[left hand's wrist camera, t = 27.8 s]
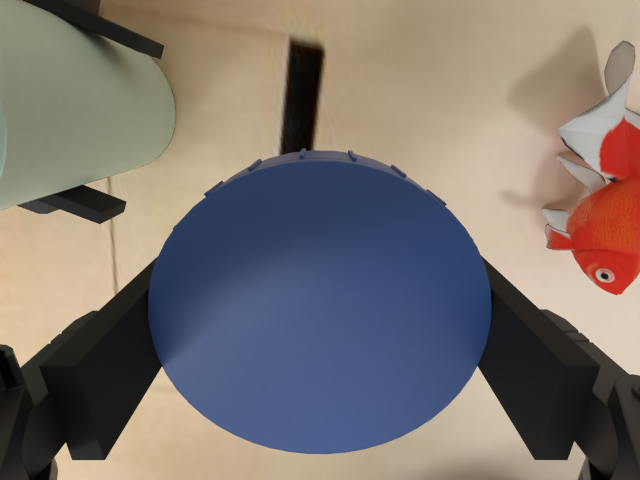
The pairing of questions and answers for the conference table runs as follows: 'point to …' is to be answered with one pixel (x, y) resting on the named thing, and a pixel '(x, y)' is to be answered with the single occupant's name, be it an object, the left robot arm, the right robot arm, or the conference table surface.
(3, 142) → the jar
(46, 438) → the left robot arm
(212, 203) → the lid
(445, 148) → the conference table surface
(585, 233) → the fish
